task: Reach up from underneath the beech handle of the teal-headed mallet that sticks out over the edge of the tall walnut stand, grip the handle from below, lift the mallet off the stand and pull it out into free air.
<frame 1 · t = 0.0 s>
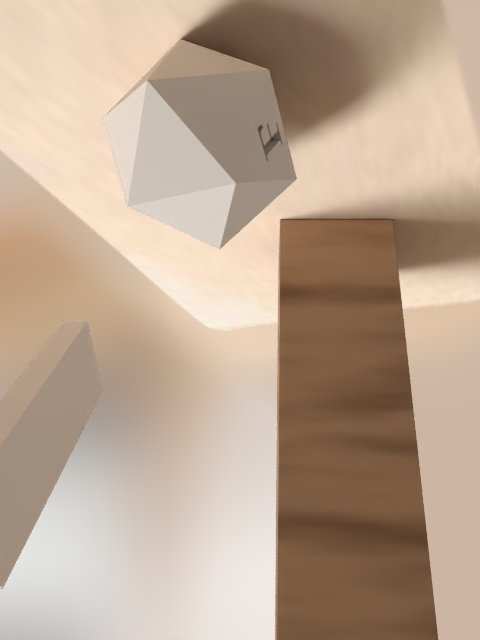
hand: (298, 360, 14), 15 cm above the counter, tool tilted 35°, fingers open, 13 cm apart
die: (206, 88, 23), on the counter
stand: (329, 249, 36), on the counter
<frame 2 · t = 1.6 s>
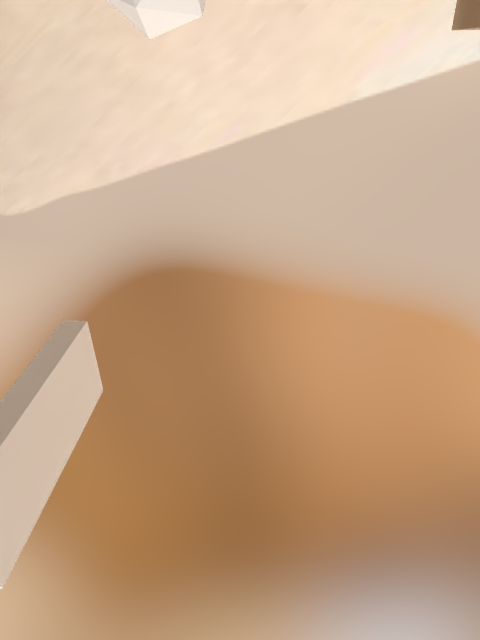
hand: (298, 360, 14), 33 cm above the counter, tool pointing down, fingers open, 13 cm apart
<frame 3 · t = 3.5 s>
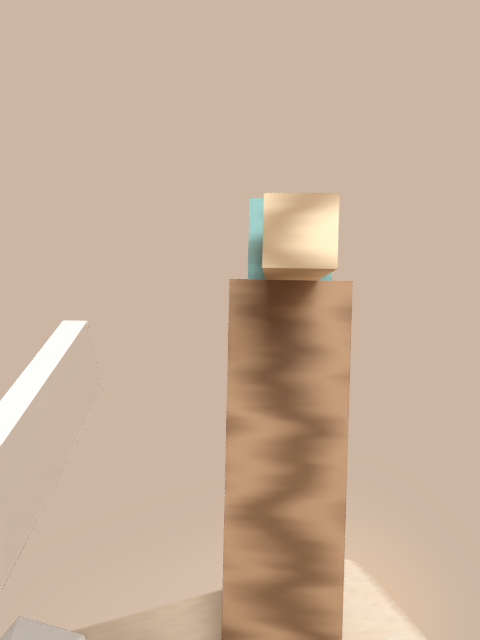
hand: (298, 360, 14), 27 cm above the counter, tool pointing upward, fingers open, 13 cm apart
mallet: (291, 280, 30), point 30 cm above the counter, touching stand
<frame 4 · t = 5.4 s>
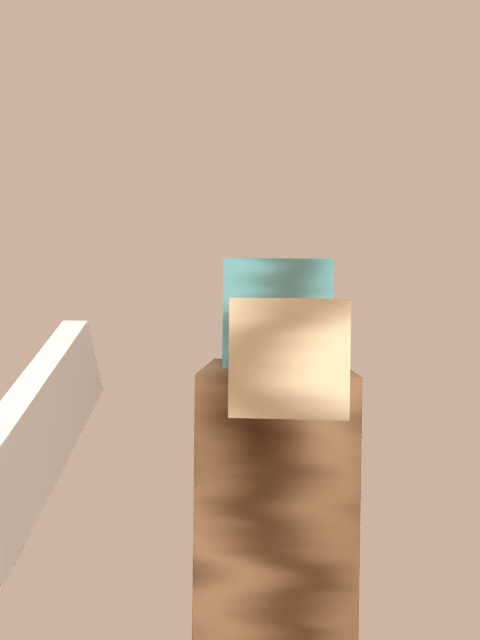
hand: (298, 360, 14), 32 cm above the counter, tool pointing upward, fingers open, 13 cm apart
mallet: (278, 376, 22), point 30 cm above the counter, touching stand
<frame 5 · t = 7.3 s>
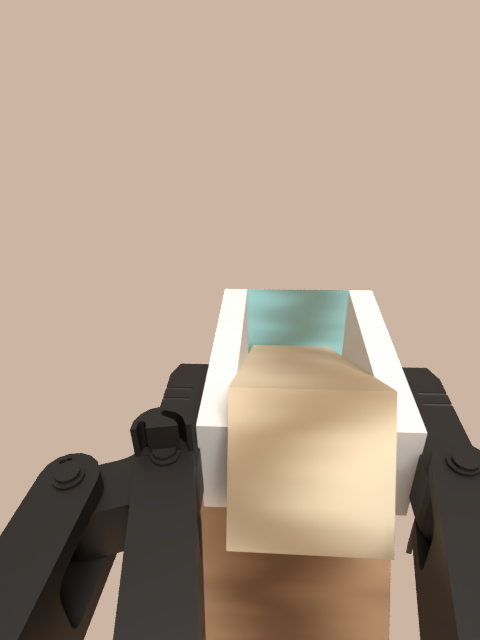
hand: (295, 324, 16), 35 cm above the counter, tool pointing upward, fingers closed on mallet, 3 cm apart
mallet: (291, 435, 18), point 30 cm above the counter, touching gripper, stand
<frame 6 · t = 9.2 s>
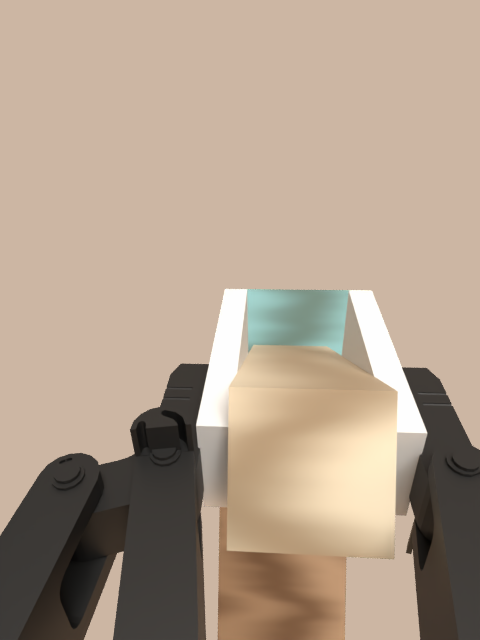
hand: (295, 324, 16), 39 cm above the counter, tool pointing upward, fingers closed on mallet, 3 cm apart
mallet: (291, 435, 18), point 34 cm above the counter, touching gripper
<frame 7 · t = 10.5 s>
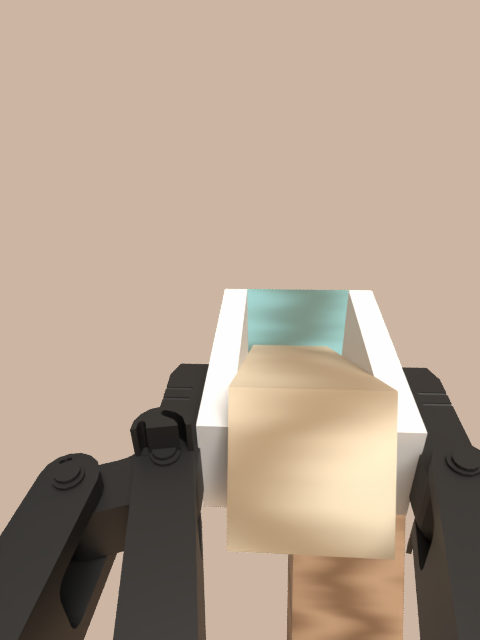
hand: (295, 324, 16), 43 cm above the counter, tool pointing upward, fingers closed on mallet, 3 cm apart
mallet: (291, 435, 18), point 38 cm above the counter, touching gripper
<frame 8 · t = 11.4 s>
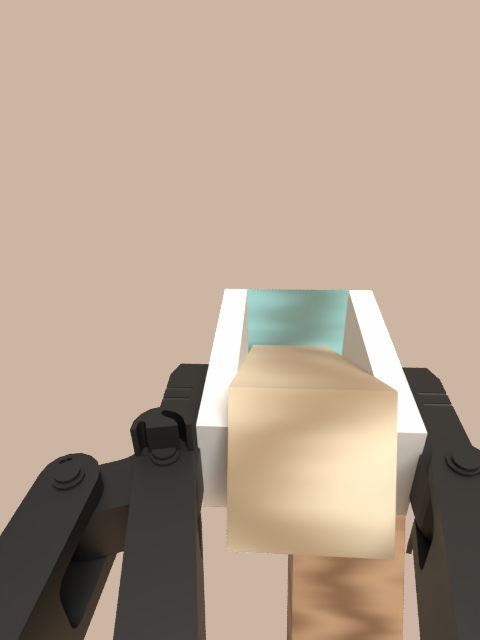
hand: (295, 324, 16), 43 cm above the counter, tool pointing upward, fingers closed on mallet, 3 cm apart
mallet: (291, 435, 18), point 38 cm above the counter, touching gripper
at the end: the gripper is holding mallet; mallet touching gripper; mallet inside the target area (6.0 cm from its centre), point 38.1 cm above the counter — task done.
